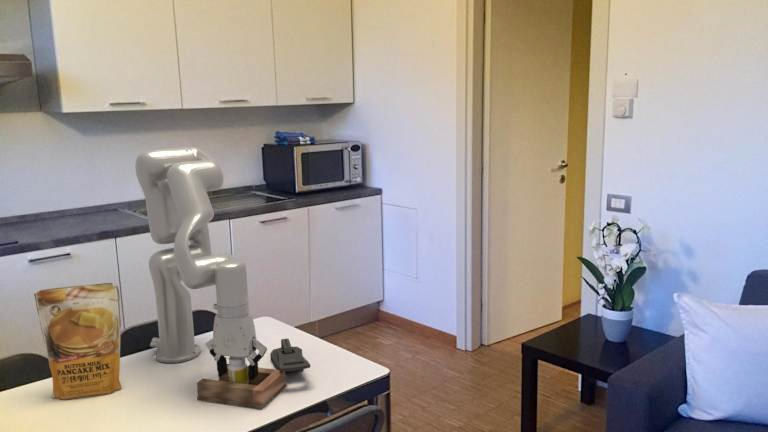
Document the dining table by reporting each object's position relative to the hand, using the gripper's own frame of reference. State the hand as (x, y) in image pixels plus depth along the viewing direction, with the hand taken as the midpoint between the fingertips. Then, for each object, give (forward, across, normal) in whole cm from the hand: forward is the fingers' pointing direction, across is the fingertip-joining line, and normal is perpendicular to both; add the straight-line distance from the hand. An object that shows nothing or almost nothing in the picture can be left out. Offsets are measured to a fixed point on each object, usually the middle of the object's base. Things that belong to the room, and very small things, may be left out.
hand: (238, 375), depth 164 cm
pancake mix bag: (+5, -38, -10) cm, 40 cm away
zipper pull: (+5, +7, +15) cm, 17 cm away
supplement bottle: (+4, 0, 0) cm, 4 cm away
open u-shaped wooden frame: (+5, +1, 0) cm, 5 cm away
